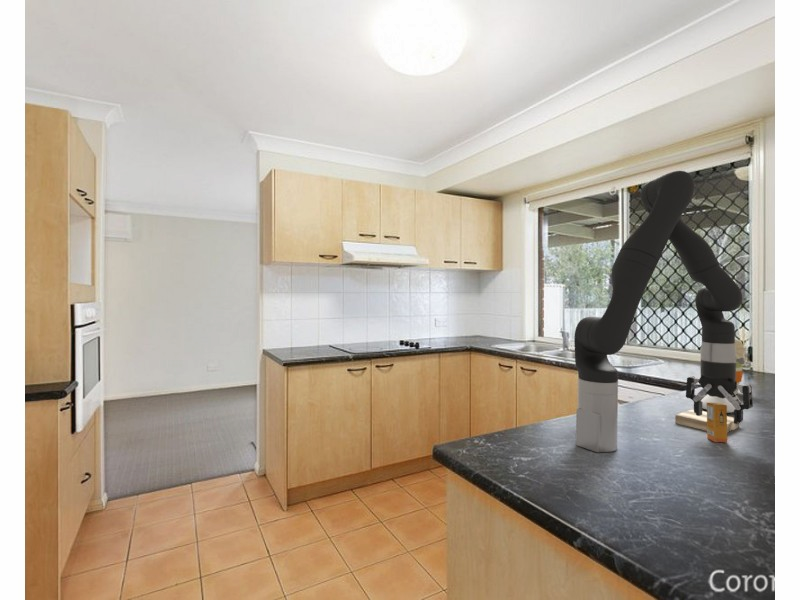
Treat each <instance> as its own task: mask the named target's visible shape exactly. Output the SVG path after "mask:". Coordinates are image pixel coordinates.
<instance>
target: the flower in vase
mask: <svg viewBox="0 0 800 600" xmlns="http://www.w3.org/2000/svg"><path fill="white" fill-rule="evenodd" d="M735 349H736V357H737V359H740V358H743V357H744V356H745V354H746V352H747V347H745V345H744V344H743V342H742V341H741V340H739V339H736V338H735ZM740 367H742V368H743V367H744V365H743V366H742V365H741V364H740V363H738V362H737V361H736V368H740ZM701 401H702V410H703V409H704V410H706V411H707V403H721V404H724V405H727V414H728V413H731V414H732V413H734V409H735V407H734V406H733V405H732V404H731V403H730V402H729V401H728V400H727V399H726V398H719V397H716V396H714V397H712V396H709V395H707V396H705V397H704V398H703V399H702V400H701Z"/></svg>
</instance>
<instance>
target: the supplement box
mask: <svg viewBox="0 0 800 600" xmlns="http://www.w3.org/2000/svg"><path fill="white" fill-rule="evenodd" d="M706 412H707V431H706V433H707V435H706V436H707V437H706V439H707V440H709V441H712V442H714V443H728V432H727V416H728V413H727V405H724V404H721V403H707V410H706Z"/></svg>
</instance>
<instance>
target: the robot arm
mask: <svg viewBox="0 0 800 600" xmlns="http://www.w3.org/2000/svg"><path fill="white" fill-rule="evenodd" d="M694 194H695V180H694V178H693V176H692V175H691V174H690V173H689V172H687V171H685V170H675V171H671V172H667V173H666V174H662V175H661V176H658V177H656V178H654V179H652V180H650V181H648V182H646V183H645V184H644V185H643V186H642V188H641V191H640V200H641V203H642V205H643V207H644V208H645V210H646V211H647V213H648V215H647V217H645V219H644V220H643V222H642V223H641V224H640V225H639V226H638V227H637V228H636V229H635V230H634V232H632V234H631V235H629V237H628V238H627V239H626V240H625V242H624V243H623V244H622V246H621V248H620V250H619V252H618V254H617V256H616V258H615V260H614V263H613V264H612V269H611V287H612V290H611V292H612V293H611V298H610V301H609V303H608V305H607V308H606V309H605V311H604V313H603V315H602V316H601V317H600V316H586V317H583V318H582V319H581V320H579V322H578V323H577V325H576V327H575V330H574V336H573V337H574V363H575V367H576V370H577V372H578V379H577V380H578V381H577V382H578V387H577V393H578V394H577V408H576V409H575V411H576V412H575V414H576V417H575V418H576V419H575V425H576V426H575V445H576V446H578V447H581V448H584V449H586V450H589V451H592V452H595V453H611V452H612V453H613V452H615V451H618V424H619V423H618V419H619V417H618V416H619V415H618V413H619V412H618V409H619V408H618V407H619V371H618V369H617V368H616V367H615V366H613V364H612V363H611V362H610V361H609V358H608V356H611V355H615V354H617V353H619V352H620V350H621V349H622V348H623V347H624V346H625V343H626V341H627V339H628V337H629V334H630V330H631V328H632V325H633V321H634V318H635V314H636V313H637V311H638V310H637V309H638V307H639V304H640V302H641V301H642V298H643V295H644V293H645V291H646V289H647V286H648V284H649V282H650V280H651V278H652V277H653V274H654V272H655V269H656V268H657V265H658V263H659V262H660V259H661V256H662V255H663V251H664V250H665V249H666V246H667V244H668V242H670V243H671V245H672V246H673V248H674V249H675V250H676V253H677V254H678V256H679V258H680V260H681V263H682V264H683V266H684V268H685V270H686V272H687V274H688V276H689V277H690V279H691V280H692V281H694V282H697V283H699V284H702V285H703V286H702V287H700V288H699V289H698V290H697V292H696V295H695V301H694V302H695V303H694V304H695V308H696V311H697V315H698V319H699V322H700V325H701V346H700V377H699V378H698V377H695V376H694V375H692V376H688V377H687V378H686V386H685V397H686V398H687V399H690V400H691V401H692V402H693V409H694V413H696V415H697V416H701V415H702V411H703V408H702V401H701V400H702V399H703V398H704V397H705V396H707V395H709V396H712V397H714V396H716V397H719V398H726V399H727V400H728V401H729V402H730V403H731V404H732V405H733V406H734V407H735V409H734V412H733V417H734V424H739V425H740V424H741V423H742V422H743V421H744V410H750V409H752V408H753V407H754V404H753V403H754V401H753V389H752V388H753V386H752V385H751V384H749V383H748V384H737V382H736V359H737V357H736V349H735V339H736V329H735V324H734V322H732V321H730V320H729V319H728V320H727V319H726V318H725V316H724V313H723V312H733V311H736V310H738V309H739V308H740V307H741V304H742V303H743V293H742V291H741V289H740V287H739V285H738V284H737V283H736V282H735V280H734V279H733V278H732V277H731V276H730V275H729V274H728V272H726V271H725V270H724V268H723V267H721V265H720V263H719V262H720V261H718V259H717V256H716V255H715V252H714V250H713V249H712V247H711V245H710V244H709V243H708V242H707V241H706V239H704V237H702V236H701V235H700V234H699V233H697V232H696V231H695V230H693V229H692V228H691V227H690V226H689V225H688V224H686V222H685V221H684V220H683V219H682V215H683V214H684V212H685V211H686V209H687V208H688V206H689V204H690V202H691V201H692V198H693V196H694ZM611 364H612V365H611ZM698 384H699V386H701V388H702V389H701V390H700V391H698V392H697V394H696V393H695V391H696V390H695V389H696V385H698ZM736 389H738V391H739V393H740V394H742V401H741V400H740V398H739V396H738V394H737V395H736V394H735V393H734V391H735V390H736Z"/></svg>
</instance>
